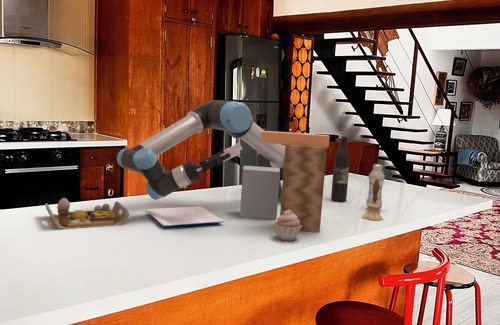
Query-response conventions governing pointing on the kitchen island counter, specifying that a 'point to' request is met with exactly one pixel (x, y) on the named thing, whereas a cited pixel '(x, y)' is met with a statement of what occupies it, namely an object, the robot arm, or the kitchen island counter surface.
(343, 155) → the wine bottle
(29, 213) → the kitchen island counter surface
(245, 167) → the grey rectangular block
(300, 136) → the bar
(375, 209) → the hand bell
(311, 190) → the tall wooden block
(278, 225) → the cupcake
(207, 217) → the plate
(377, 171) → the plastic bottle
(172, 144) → the robot arm
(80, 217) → the toy food set
